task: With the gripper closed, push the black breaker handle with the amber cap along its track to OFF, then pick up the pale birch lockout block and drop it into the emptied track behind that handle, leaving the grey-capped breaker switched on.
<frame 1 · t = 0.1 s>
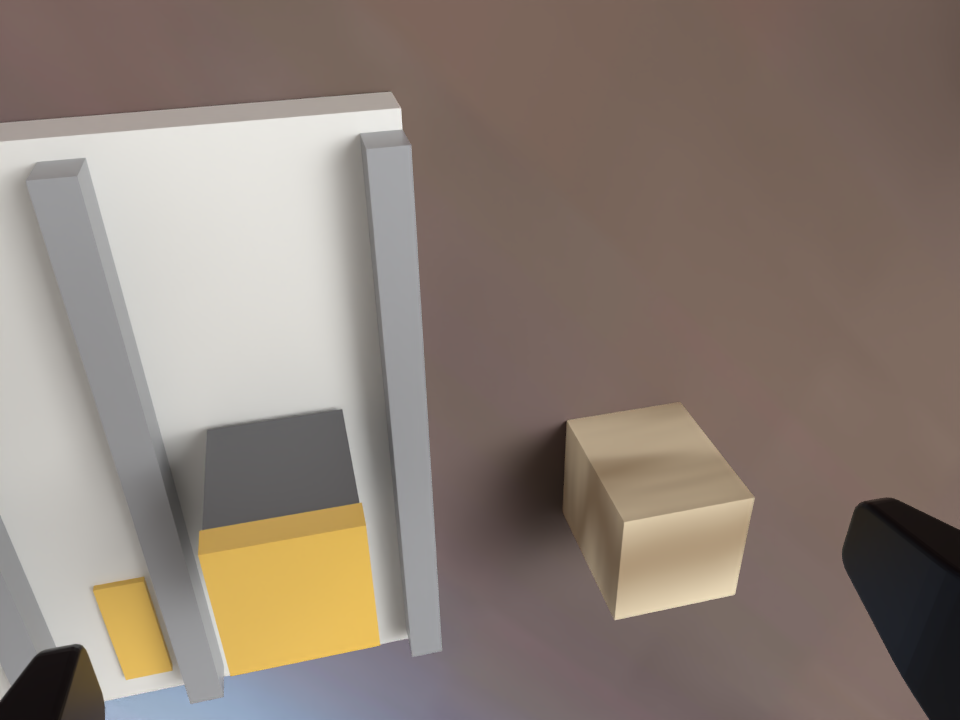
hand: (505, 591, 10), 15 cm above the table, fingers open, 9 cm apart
breaker panel: (60, 446, 24), on the table
lockout block: (619, 457, 29), on the table
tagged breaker: (290, 534, 22), point 4 cm above the table, slide at 0.0 cm
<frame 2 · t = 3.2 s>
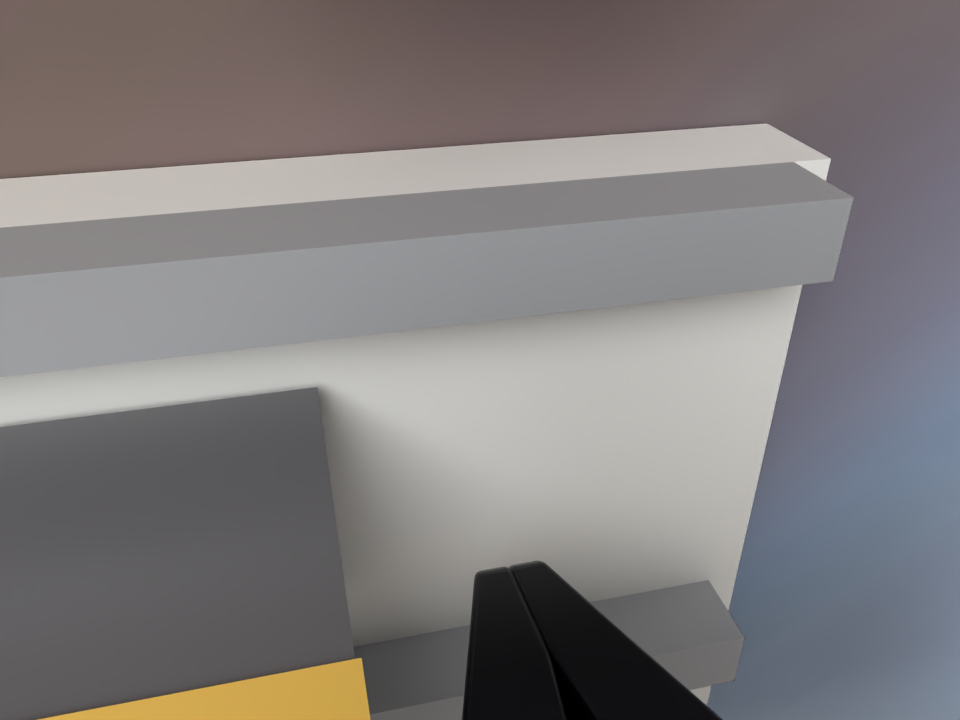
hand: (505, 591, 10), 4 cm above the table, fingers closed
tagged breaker: (151, 690, 8), point 4 cm above the table, slide at 0.4 cm, touching gripper
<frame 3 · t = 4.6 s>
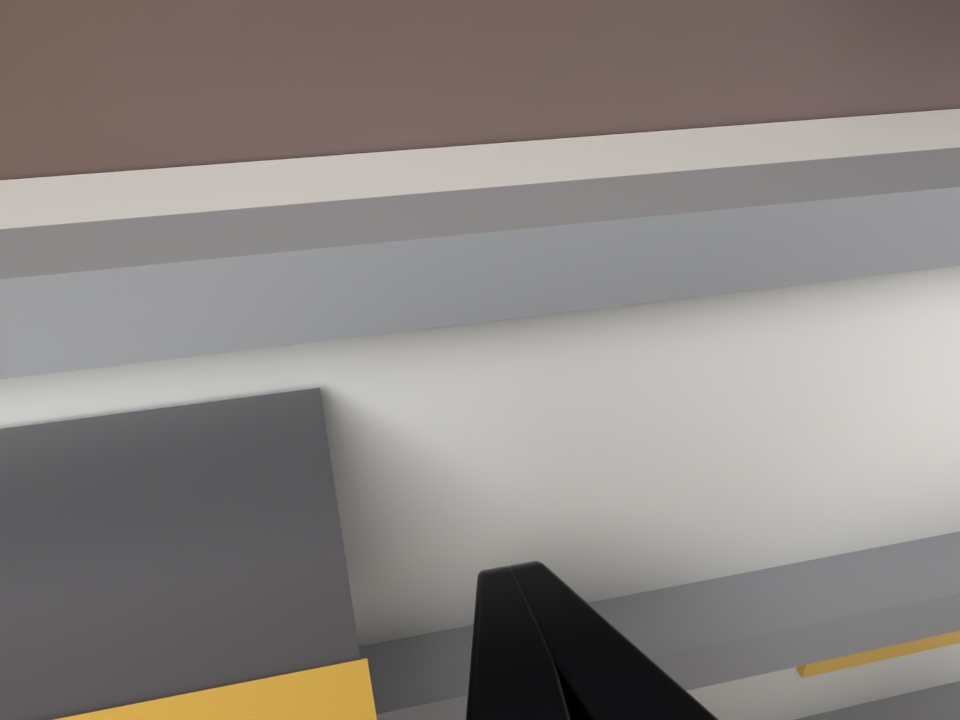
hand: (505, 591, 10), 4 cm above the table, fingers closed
breaker panel: (565, 650, 16), on the table
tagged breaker: (155, 692, 8), point 4 cm above the table, slide at 7.1 cm, touching gripper
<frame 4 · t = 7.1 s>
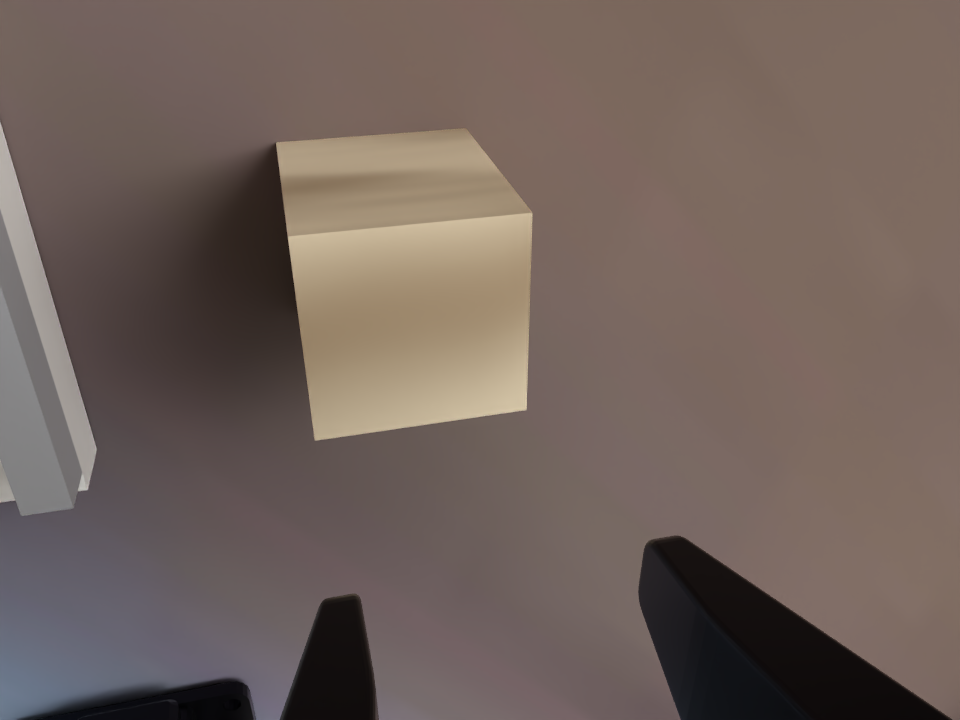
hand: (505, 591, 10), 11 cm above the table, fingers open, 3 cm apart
lockout block: (379, 223, 19), on the table
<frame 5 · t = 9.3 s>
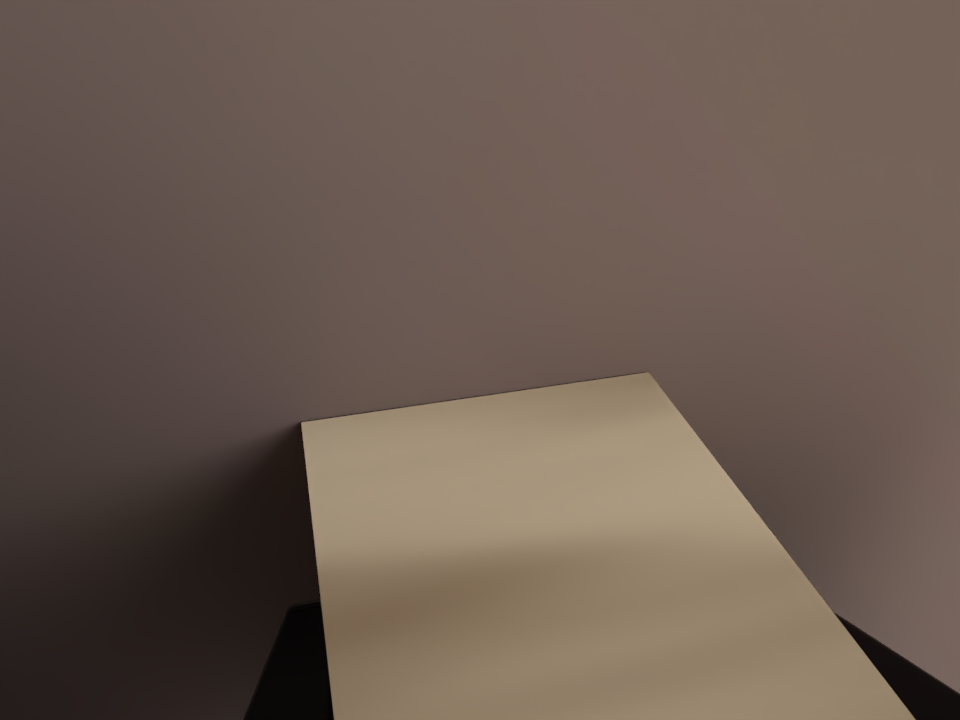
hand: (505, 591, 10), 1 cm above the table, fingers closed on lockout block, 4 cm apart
lockout block: (483, 529, 11), on the table, touching gripper
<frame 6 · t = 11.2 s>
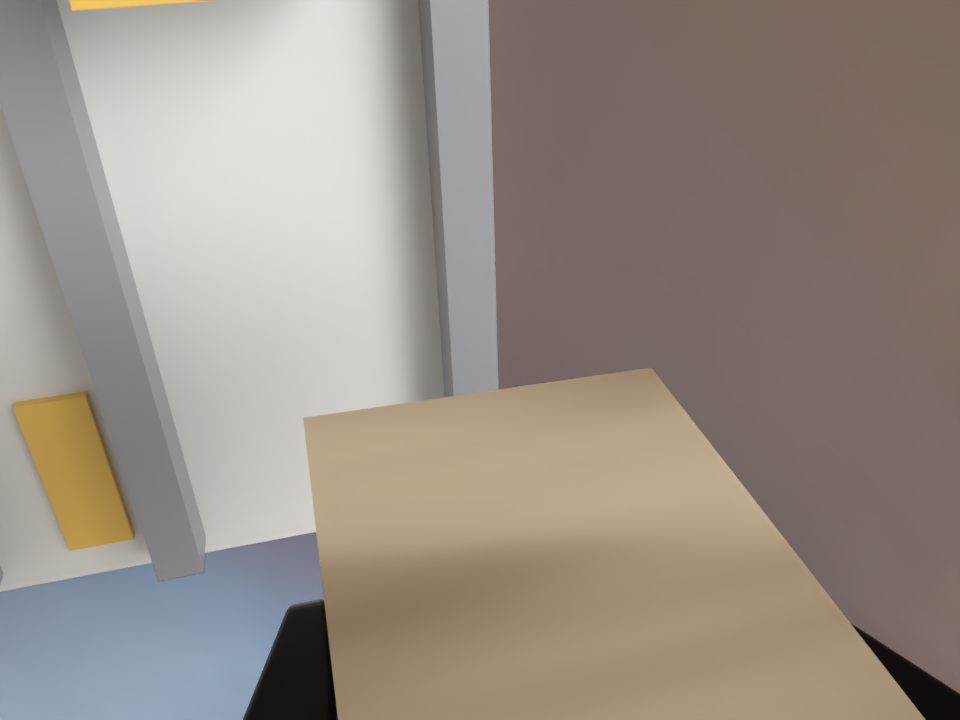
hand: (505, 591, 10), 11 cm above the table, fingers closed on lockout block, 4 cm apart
lockout block: (485, 525, 11), point 10 cm above the table, touching gripper
when the fingers open (4 cm above the table, at t = 13.0 s): lockout block drops 1 cm, resting on breaker panel.
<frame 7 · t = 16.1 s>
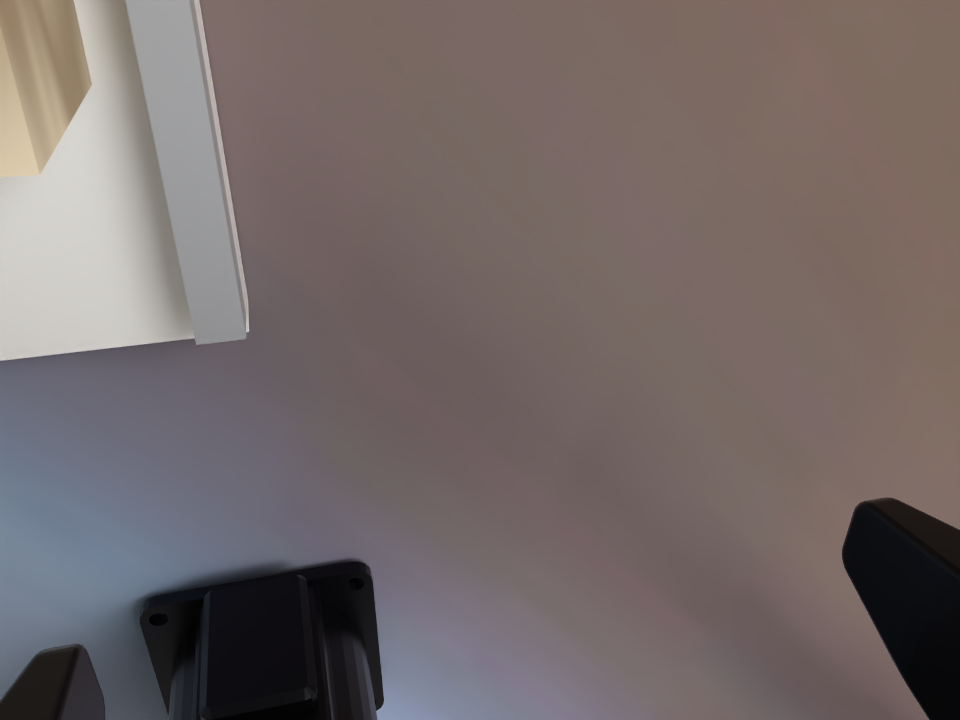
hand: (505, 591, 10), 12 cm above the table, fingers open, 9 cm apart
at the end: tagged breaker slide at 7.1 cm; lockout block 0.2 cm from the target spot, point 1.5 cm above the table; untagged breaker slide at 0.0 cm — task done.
